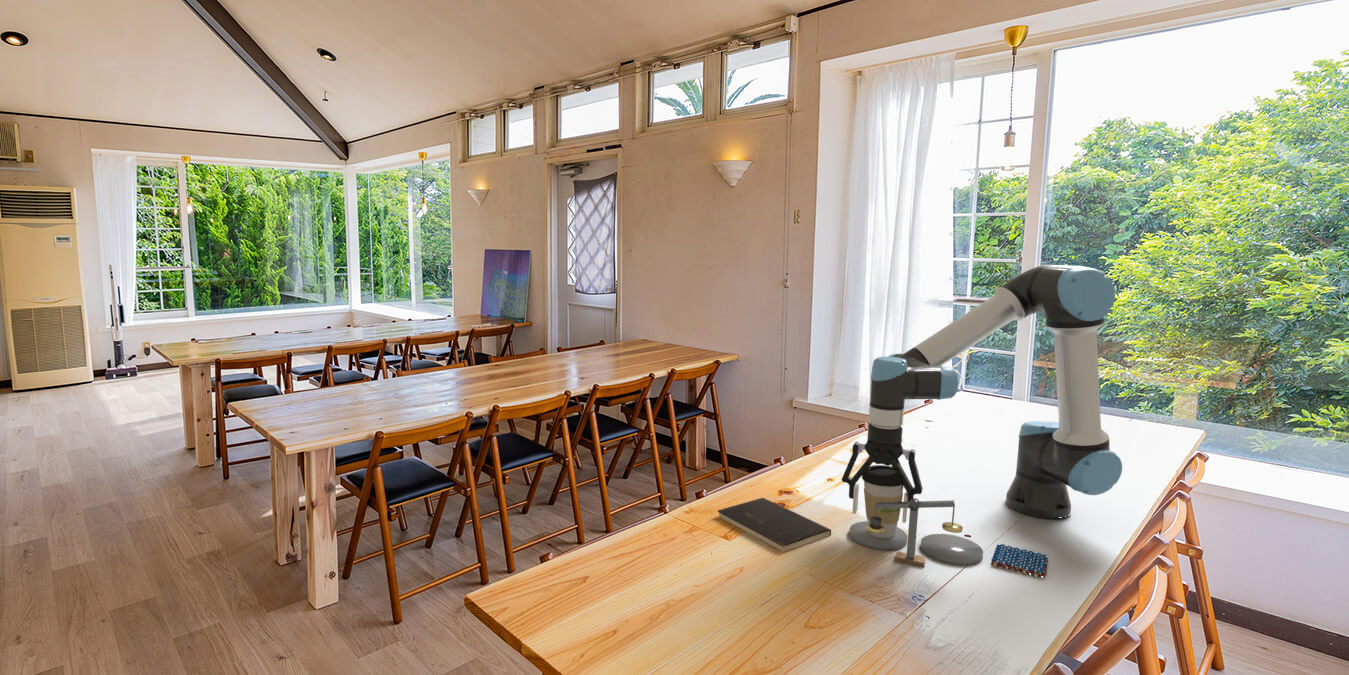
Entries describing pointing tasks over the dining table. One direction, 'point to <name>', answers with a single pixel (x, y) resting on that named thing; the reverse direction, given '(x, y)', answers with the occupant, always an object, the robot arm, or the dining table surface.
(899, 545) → the dish low side
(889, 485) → the coffee cup
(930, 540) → the grey flat disc
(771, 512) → the hardcover book
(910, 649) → the dining table surface
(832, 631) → the dining table surface
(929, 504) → the balance
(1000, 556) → the woven mat
